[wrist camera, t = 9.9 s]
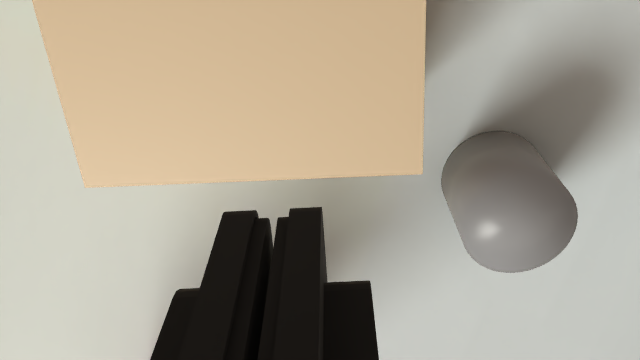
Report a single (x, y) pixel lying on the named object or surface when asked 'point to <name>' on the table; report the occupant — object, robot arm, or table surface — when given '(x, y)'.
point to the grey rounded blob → (507, 202)
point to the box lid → (238, 88)
